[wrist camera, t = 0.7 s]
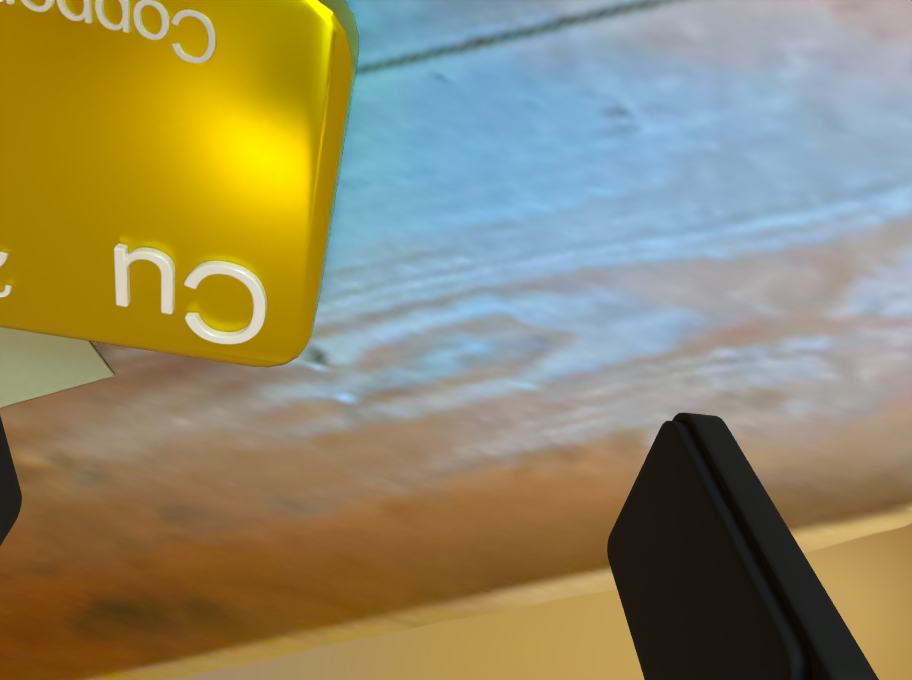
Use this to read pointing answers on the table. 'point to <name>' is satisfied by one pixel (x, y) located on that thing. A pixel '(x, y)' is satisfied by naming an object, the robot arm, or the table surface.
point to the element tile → (171, 170)
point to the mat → (45, 365)
